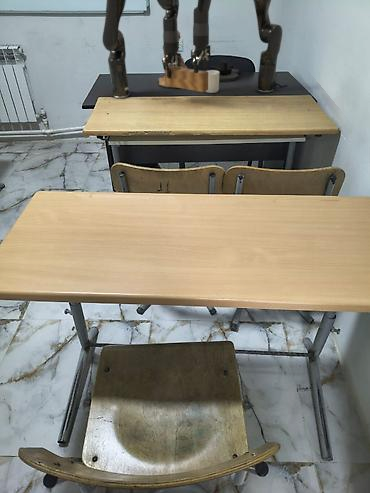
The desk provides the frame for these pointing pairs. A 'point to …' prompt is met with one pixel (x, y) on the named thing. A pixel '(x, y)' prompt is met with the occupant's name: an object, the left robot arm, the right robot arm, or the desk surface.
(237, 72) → the abstract sculpture
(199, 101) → the desk surface
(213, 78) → the mug
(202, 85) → the bar
